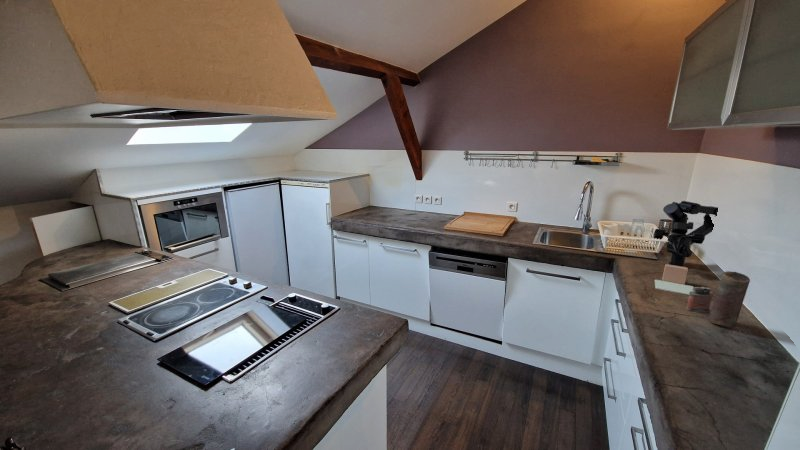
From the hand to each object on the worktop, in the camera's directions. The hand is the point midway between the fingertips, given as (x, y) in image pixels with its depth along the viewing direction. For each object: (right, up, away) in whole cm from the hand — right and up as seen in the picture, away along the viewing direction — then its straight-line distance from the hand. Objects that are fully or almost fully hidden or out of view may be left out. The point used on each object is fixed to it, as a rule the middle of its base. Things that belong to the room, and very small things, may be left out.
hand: (676, 251), depth 157 cm
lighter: (-14, -22, -26) cm, 36 cm away
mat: (-8, -16, -8) cm, 20 cm away
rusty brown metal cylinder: (-13, -24, -35) cm, 45 cm away
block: (-4, -14, -3) cm, 15 cm away
